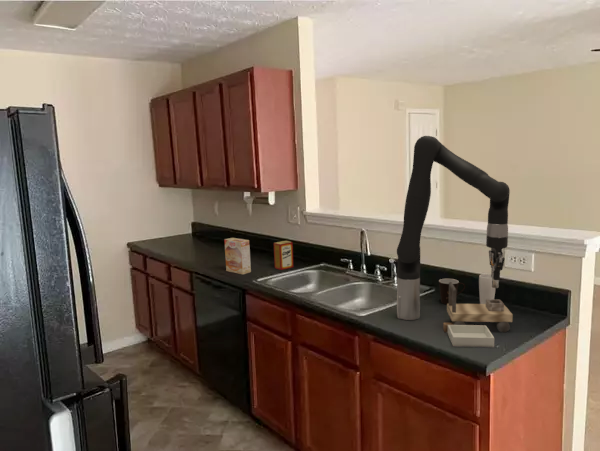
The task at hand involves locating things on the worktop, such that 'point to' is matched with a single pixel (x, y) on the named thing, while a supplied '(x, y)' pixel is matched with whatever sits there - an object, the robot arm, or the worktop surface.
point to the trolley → (479, 311)
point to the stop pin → (494, 282)
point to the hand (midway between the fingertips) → (495, 278)
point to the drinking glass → (486, 288)
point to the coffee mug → (445, 289)
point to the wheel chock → (446, 326)
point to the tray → (470, 336)
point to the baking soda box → (283, 255)
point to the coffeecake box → (237, 255)
